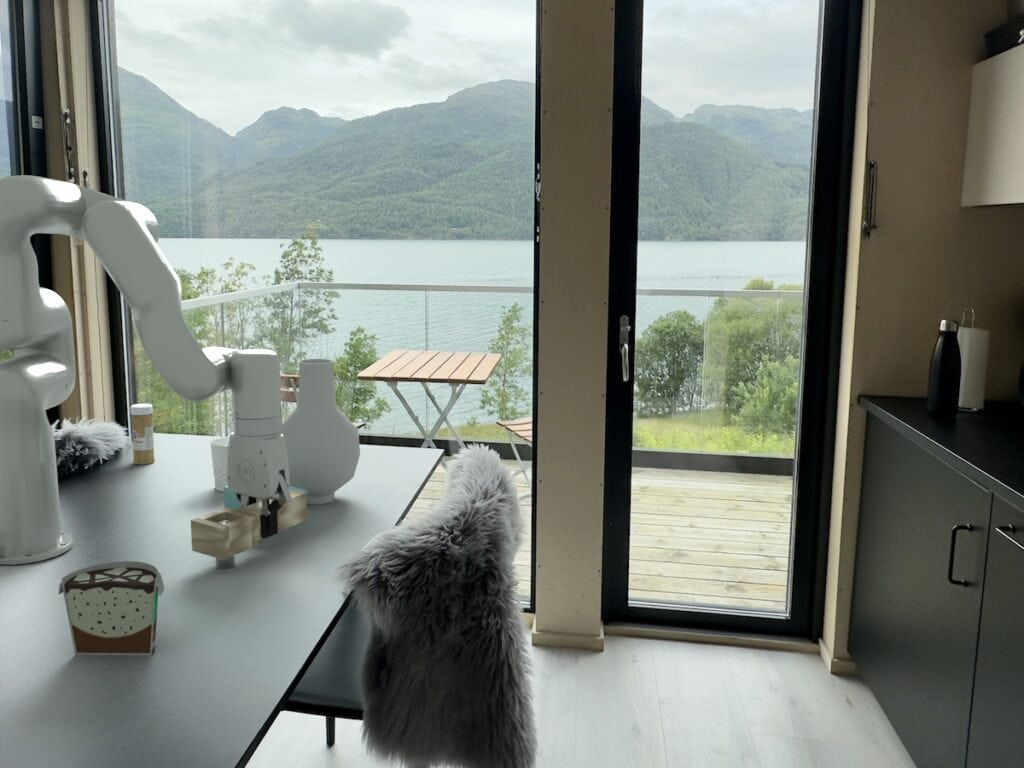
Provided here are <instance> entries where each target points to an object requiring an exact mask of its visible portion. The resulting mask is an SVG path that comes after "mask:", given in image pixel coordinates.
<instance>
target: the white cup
mask: <svg viewBox="0 0 1024 768" xmlns="http://www.w3.org/2000/svg"><path fill="white" fill-rule="evenodd" d="M229 439H230V436H224V437H218V438H215V439H212V440H211V441H210V449H211V452H210V453H211V463H212V470H213V477H214V487H215V490H216V491H219V492H223V493H224V487H225V486H228V485H227V455H228V445H229Z"/></svg>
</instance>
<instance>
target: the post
mask: <svg viewBox="0 0 1024 768" xmlns="http://www.w3.org/2000/svg"><path fill="white" fill-rule="evenodd" d="M228 522H231V521H230V520H223V521H218V522H216V523H219V524H226V523H228ZM235 559H236V558H235V555H234V556H232V557H229V558H227V559H224V560H222V559H219V558H215V568H217V569H218V570H219V569H220V570H225V569H231V568H234V566H235V565H236V564H235V563H236V562H235Z"/></svg>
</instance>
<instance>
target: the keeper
mask: <svg viewBox="0 0 1024 768" xmlns="http://www.w3.org/2000/svg"><path fill="white" fill-rule="evenodd" d="M292 490H296V491H301V492H305V493H306V495H307V490H306V489H301V488H297V487H293V486H289V491H292ZM223 497H224V498H223V499H224V500H223V503H224V509H225V508H229V509H233V510H237V509H240V508H241V502H240V501H239V499H238V498H237V495H235V494H234V493H233V492H232V491H231V490H230V489H229V488H228V486H225V487H224V492H223ZM260 501H262V499H259V500H258V502H260Z"/></svg>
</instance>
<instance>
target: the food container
mask: <svg viewBox="0 0 1024 768" xmlns="http://www.w3.org/2000/svg"><path fill="white" fill-rule="evenodd" d="M164 591H165V585H164V580H163V578H162V574H161V573H160V572H159V569H158V567H156V566H154V565H152V564H150V563H147V562H142V561H133V560H131V561H130V560H128V561H127V560H125V561H124V560H123V561H122V560H121V561H109V562H104V563H99V564H98V563H97V564H93V565H89V566H85V567H83V568H79V569H77V570H74V571H72V572H70V573H68V574H66V575H64V576H63V577H62V578H61V582H60V583H59V587H58V593H57V595H62V593H63V598H64V604H65V608H66V612H67V613H66V614H67V620H68V624H69V630H70V634H71V640H72V646H73V651H74V655H75V656H153V654H154V652H156V650H155V649H156V635H157V619H158V603H159V596H162V594H163V593H164Z"/></svg>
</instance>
